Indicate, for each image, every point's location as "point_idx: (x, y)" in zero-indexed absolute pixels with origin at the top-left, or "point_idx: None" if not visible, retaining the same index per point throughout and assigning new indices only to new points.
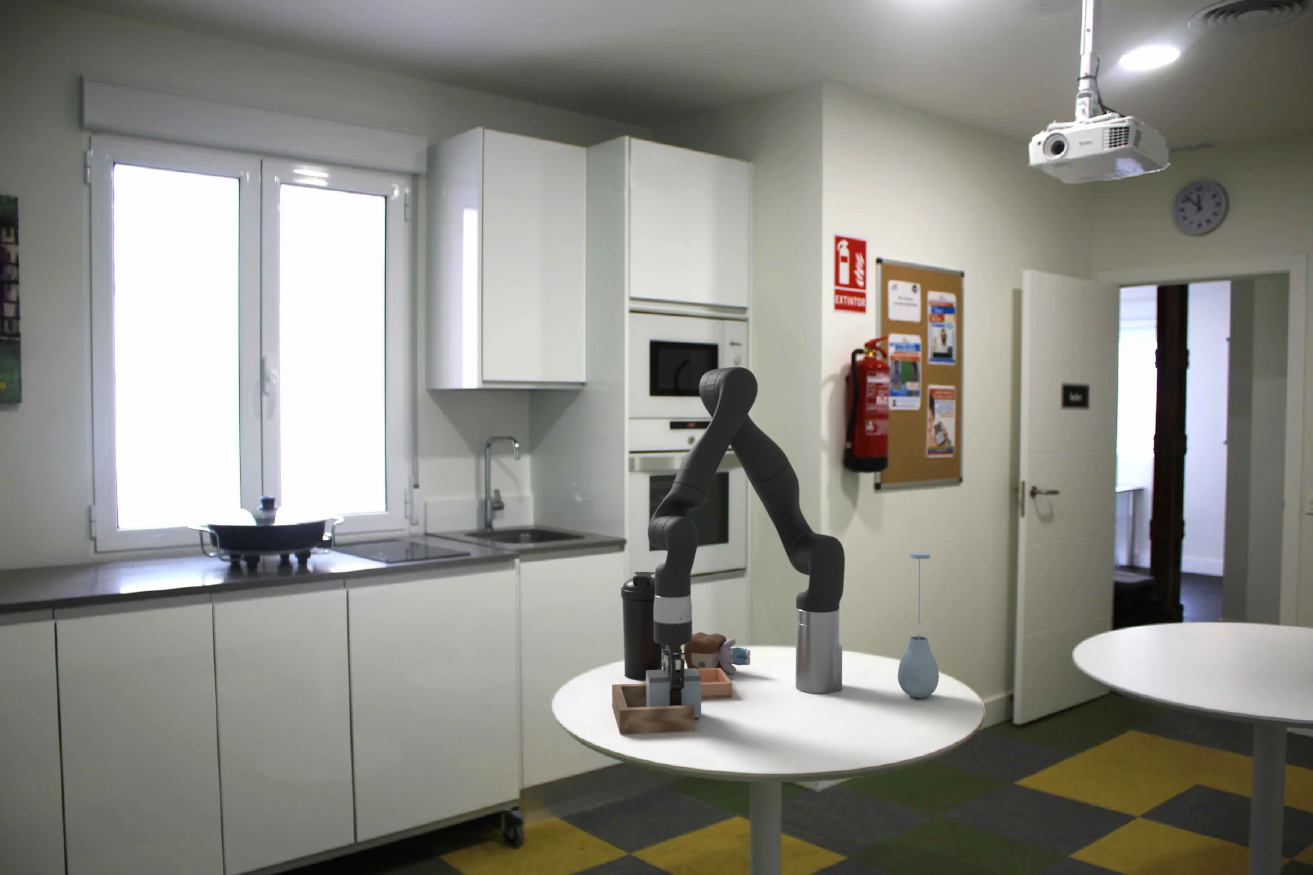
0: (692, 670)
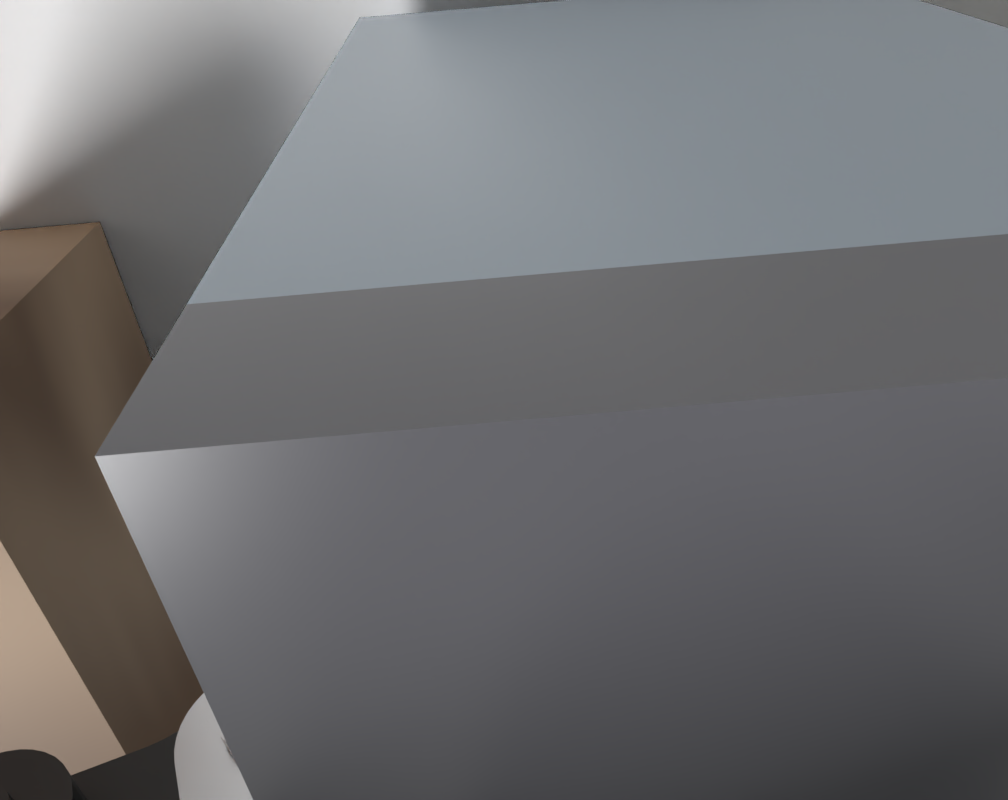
0: (596, 624)
